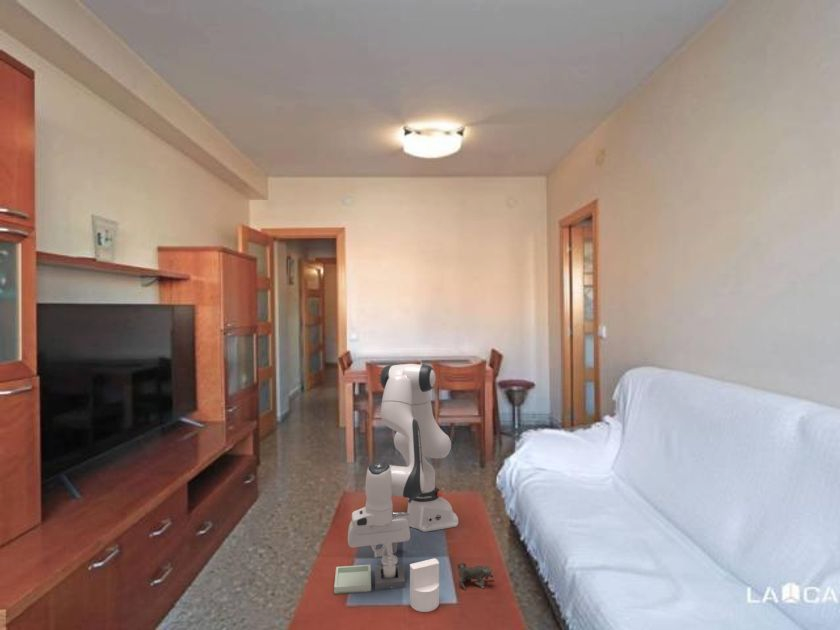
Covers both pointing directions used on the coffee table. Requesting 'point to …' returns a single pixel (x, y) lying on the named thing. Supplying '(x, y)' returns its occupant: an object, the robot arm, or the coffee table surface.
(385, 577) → the plug
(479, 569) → the dog figurine
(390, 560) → the grey square bar
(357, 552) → the coffee table surface
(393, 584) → the socket
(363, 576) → the tray
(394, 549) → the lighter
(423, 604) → the cylinder with rectangular tab
